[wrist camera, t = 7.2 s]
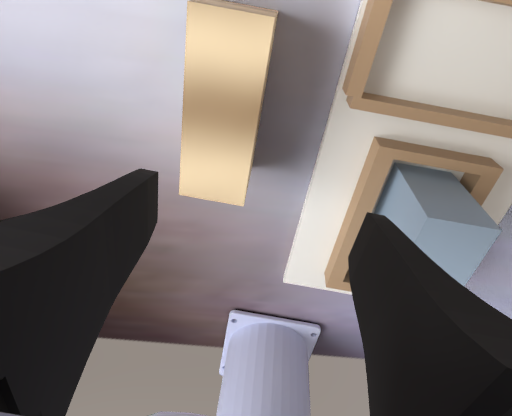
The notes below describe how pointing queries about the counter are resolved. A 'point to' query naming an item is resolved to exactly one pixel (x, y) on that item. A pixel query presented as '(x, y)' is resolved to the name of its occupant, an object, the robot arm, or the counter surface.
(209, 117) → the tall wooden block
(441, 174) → the light blue block
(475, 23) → the jig
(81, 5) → the counter surface
